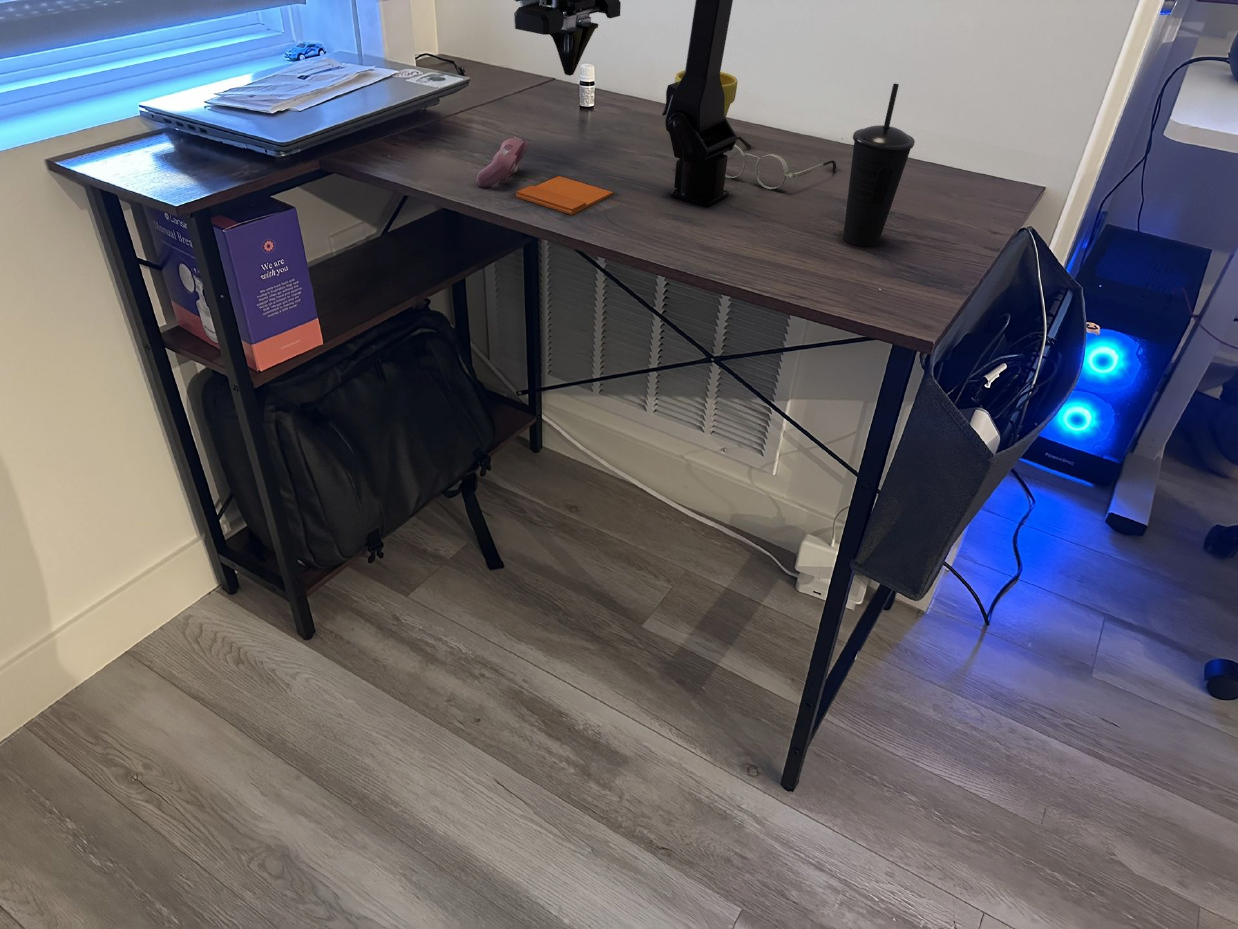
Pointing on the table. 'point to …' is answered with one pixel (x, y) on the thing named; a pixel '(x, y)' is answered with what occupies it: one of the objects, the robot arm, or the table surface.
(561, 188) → the orange rag
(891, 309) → the table surface
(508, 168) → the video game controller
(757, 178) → the round eyeglasses
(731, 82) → the flower pot
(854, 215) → the drinking cup
